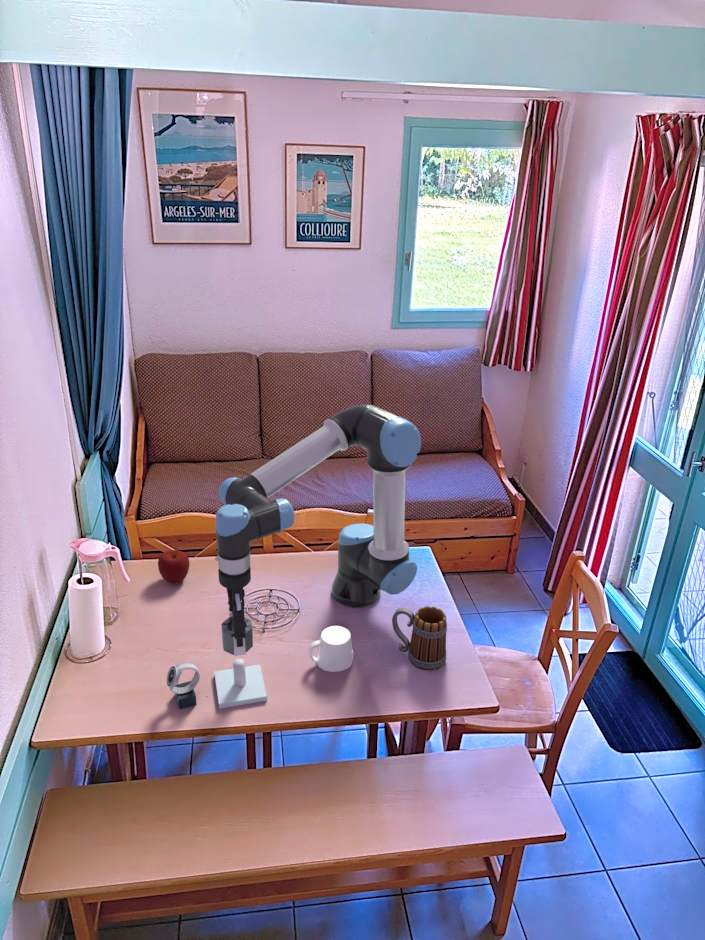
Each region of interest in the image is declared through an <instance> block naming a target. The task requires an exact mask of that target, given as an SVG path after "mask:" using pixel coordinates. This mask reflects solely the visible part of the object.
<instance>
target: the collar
mask: <svg viewBox="0 0 705 940" xmlns="http://www.w3.org/2000/svg"><path fill="white" fill-rule="evenodd" d="M252 624H253V623H252V619H249V618H247V617H245V634H246V638H245V652H246V653H247V652H249V651H250V650H251V649H252V648H253V647H254V642H253V638H254V637H253V633H254V632H253V625H252ZM233 633H234V627H233V617H230V616H229V617H228V618H227V619H225V620H224V621H222V623H221V639H222V647H223V648H222V649H223V652H226V653H227V654H229V655H232V656H234V641H233V637H231V634H233Z"/></svg>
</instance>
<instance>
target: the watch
mask: <svg viewBox="0 0 705 940" xmlns="http://www.w3.org/2000/svg"><path fill="white" fill-rule="evenodd" d="M184 670H185V671H186V670H194V675H193V677H192V679H191V680H188V681H185V682H182V683H179V681H180V678H181V675H182V674H183V673H182V672H183V671H184ZM200 678H201V674H200V672H199V669H198V667H197V665H195V664H194V663H192V662H190V661H189V662H182V663H181V662H180V663H177V664H175V665H173V666H171V667H170V668H169V669H168V672H167V676H166V685H167V686H168V687H169V690H170V692H172V693H173V694H174V696H175V699H176V702H177V706H178V709H179V710H183V709H187V708H190V707H193V706H197V695H196V691H195V688H196V687H197V686H198V683H199V681H200Z"/></svg>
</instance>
